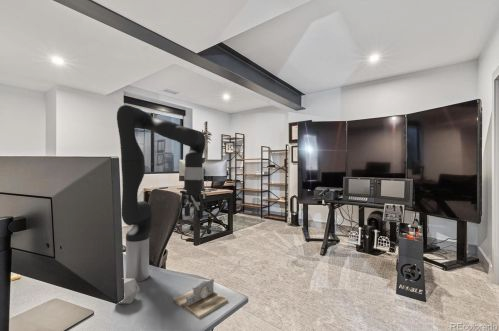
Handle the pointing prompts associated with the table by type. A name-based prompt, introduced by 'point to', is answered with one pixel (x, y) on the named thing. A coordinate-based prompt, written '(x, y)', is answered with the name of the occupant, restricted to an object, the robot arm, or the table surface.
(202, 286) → the garden wall model
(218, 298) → the board
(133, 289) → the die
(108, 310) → the table surface
